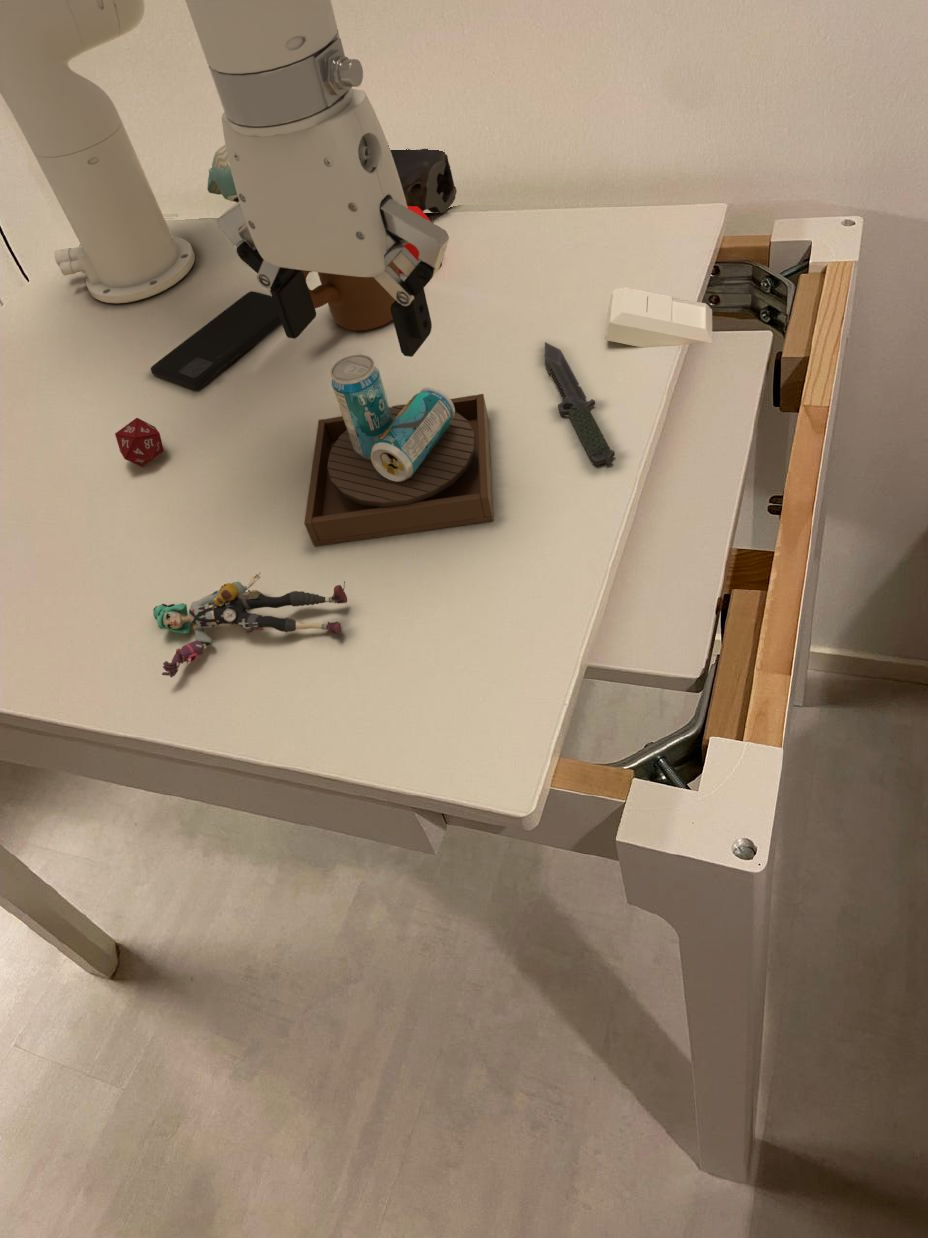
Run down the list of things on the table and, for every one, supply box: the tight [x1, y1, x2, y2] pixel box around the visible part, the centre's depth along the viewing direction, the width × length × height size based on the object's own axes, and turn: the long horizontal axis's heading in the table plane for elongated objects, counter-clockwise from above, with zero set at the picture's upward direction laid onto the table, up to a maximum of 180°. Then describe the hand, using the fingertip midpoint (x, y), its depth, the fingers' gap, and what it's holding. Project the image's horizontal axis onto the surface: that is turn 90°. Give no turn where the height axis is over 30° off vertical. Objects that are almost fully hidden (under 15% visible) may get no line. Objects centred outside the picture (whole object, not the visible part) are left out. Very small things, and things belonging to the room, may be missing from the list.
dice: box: [114, 417, 165, 468], centre depth 83 cm, size 4×4×4 cm
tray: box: [304, 393, 494, 547], centre depth 76 cm, size 14×13×2 cm
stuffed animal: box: [206, 144, 239, 203], centre depth 113 cm, size 11×7×12 cm
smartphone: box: [150, 290, 282, 391], centre depth 95 cm, size 7×1×15 cm
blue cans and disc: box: [327, 354, 475, 507], centre depth 72 cm, size 12×12×8 cm
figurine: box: [152, 571, 348, 679], centre depth 68 cm, size 7×15×4 cm, turn 101°
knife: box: [544, 341, 615, 466], centre depth 79 cm, size 18×1×3 cm
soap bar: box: [604, 286, 713, 348], centre depth 83 cm, size 5×9×3 cm, turn 81°
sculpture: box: [390, 148, 458, 214], centre depth 104 cm, size 21×6×12 cm
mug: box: [301, 262, 401, 332], centre depth 90 cm, size 12×8×9 cm, turn 143°
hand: (358, 335), depth 67 cm, fingers open, 9 cm apart
